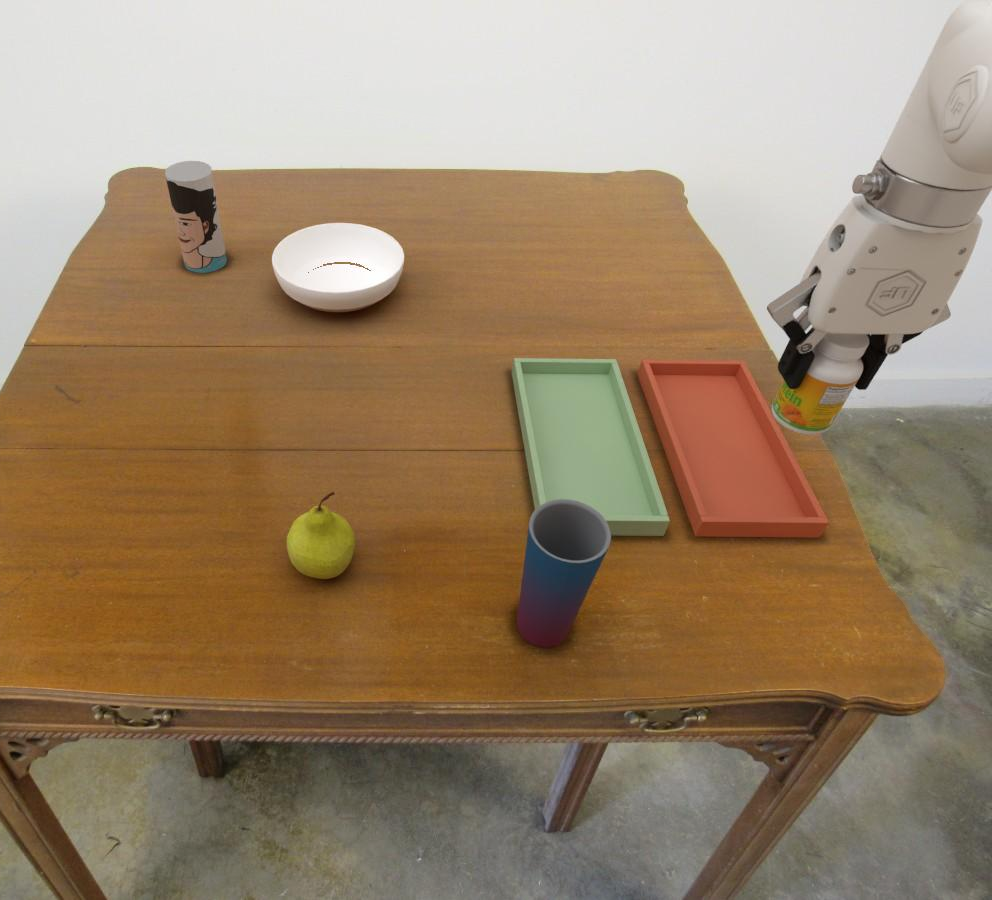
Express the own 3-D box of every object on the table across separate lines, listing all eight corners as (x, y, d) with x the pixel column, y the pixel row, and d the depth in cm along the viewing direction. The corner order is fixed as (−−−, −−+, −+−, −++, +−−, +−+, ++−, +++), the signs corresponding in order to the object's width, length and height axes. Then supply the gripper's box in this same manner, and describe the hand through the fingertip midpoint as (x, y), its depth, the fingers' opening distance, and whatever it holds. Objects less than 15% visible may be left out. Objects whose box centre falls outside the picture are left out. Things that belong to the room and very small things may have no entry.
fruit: (277, 578, 76) (264, 502, 67) (309, 530, 80) (300, 453, 72) (337, 601, 74) (331, 526, 66) (366, 551, 78) (364, 474, 70)
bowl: (374, 341, 104) (373, 305, 100) (252, 310, 109) (246, 274, 105) (421, 272, 117) (423, 237, 113) (310, 247, 122) (308, 212, 117)
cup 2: (508, 591, 75) (529, 494, 64) (576, 600, 74) (608, 503, 64) (506, 651, 70) (528, 557, 60) (578, 661, 70) (614, 567, 59)
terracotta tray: (819, 537, 80) (829, 522, 79) (694, 536, 80) (702, 521, 78) (737, 375, 100) (744, 360, 98) (637, 374, 100) (641, 359, 98)
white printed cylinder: (186, 251, 121) (168, 161, 110) (228, 249, 121) (213, 160, 110) (181, 273, 116) (161, 182, 105) (225, 272, 116) (209, 180, 106)
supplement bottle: (760, 400, 73) (799, 318, 66) (811, 396, 73) (856, 315, 66) (786, 438, 69) (831, 356, 62) (841, 434, 69) (891, 352, 62)
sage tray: (663, 536, 80) (670, 521, 78) (538, 535, 80) (542, 519, 78) (611, 374, 100) (616, 358, 98) (511, 372, 100) (513, 357, 98)
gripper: (829, 214, 52) (740, 406, 65) (1071, 217, 52) (934, 408, 65) (789, 167, 57) (714, 353, 70) (1009, 170, 57) (894, 355, 70)
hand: (821, 378), depth 67 cm, fingers closed on supplement bottle, 5 cm apart
